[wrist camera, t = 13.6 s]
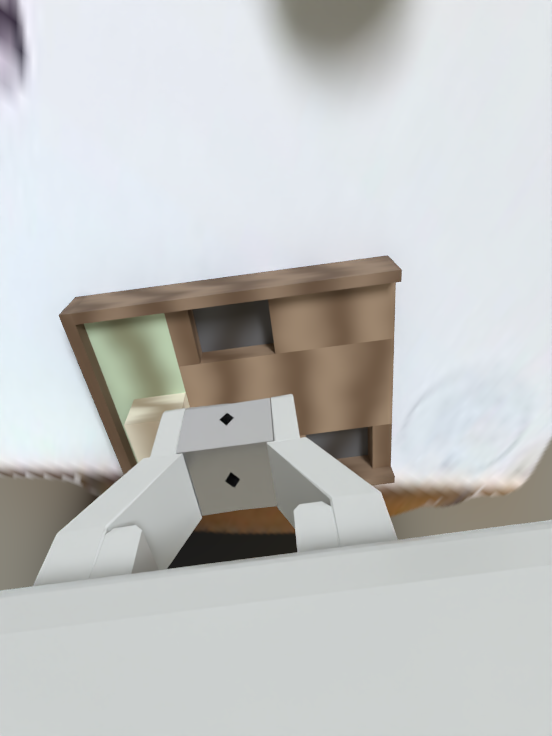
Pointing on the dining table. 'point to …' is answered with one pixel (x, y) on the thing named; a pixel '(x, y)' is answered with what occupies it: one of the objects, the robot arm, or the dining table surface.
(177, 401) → the cream block
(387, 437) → the box
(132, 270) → the dining table surface
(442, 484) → the dining table surface
